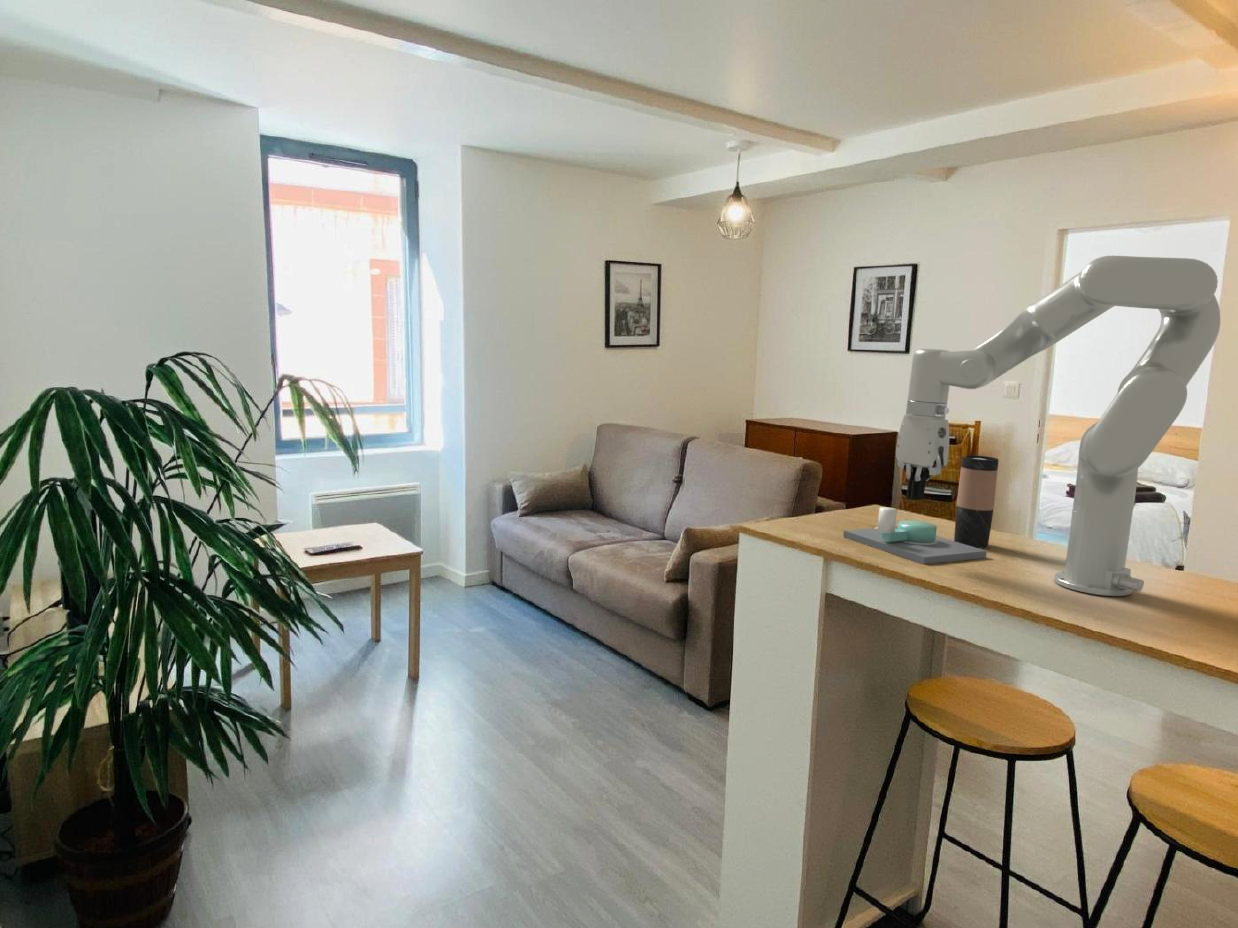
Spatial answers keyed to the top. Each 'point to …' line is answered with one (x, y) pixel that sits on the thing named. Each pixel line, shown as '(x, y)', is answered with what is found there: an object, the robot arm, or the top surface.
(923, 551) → the base plate
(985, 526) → the travel mug
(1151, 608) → the top surface
